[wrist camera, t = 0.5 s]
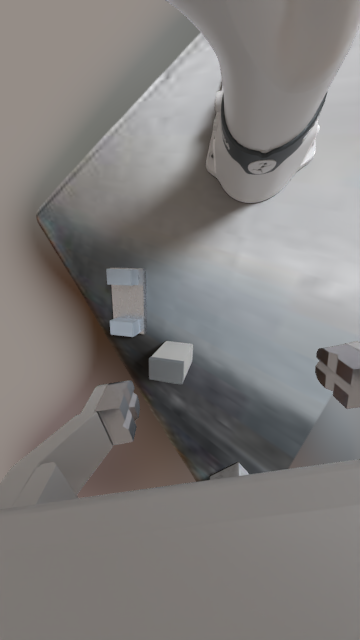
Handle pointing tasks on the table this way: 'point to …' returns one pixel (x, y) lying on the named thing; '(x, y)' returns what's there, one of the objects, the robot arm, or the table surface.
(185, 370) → the block
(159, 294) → the table surface
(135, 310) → the grey flat base plate
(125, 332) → the mounted modules
